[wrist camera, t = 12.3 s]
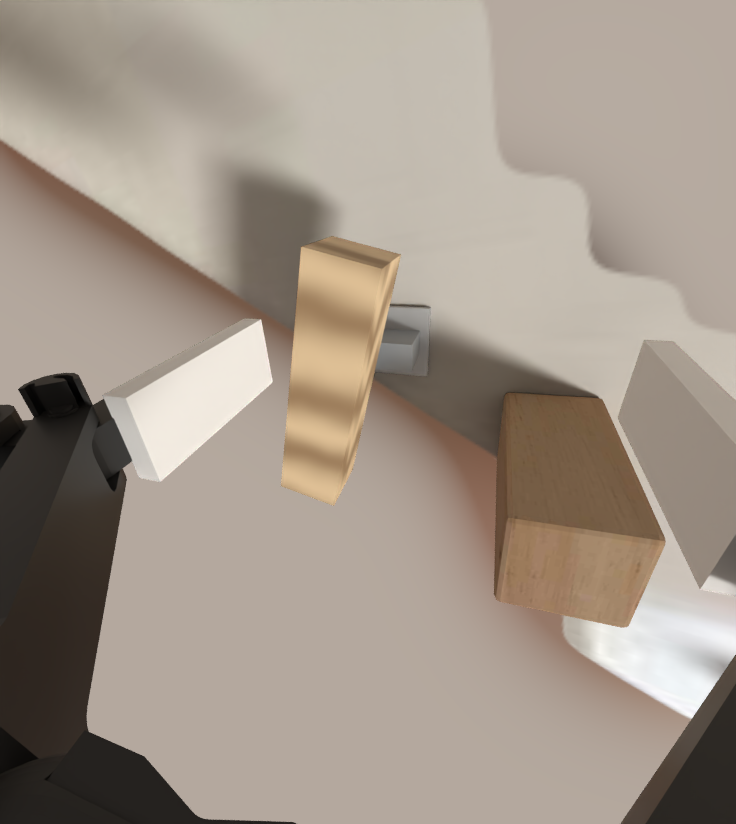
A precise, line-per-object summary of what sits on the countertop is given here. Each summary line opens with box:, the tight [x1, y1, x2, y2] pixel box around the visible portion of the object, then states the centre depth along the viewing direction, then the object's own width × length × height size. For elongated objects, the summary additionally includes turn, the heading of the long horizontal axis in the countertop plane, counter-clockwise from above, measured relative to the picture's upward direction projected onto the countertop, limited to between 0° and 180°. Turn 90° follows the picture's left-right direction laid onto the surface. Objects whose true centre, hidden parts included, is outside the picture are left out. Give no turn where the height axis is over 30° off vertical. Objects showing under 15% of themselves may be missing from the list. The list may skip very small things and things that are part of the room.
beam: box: [281, 236, 401, 506], centre depth 36 cm, size 24×6×6 cm, turn 169°
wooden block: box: [494, 393, 666, 627], centre depth 37 cm, size 10×10×20 cm
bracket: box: [375, 306, 431, 377], centre depth 42 cm, size 8×14×9 cm, turn 93°
